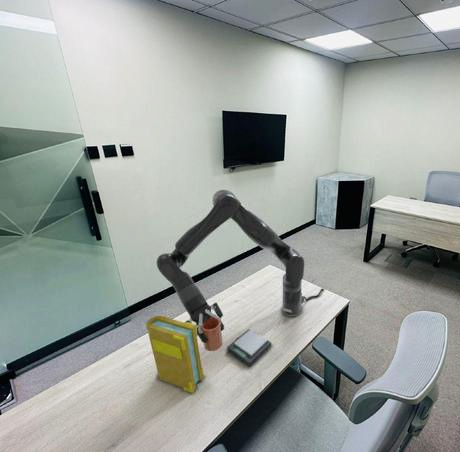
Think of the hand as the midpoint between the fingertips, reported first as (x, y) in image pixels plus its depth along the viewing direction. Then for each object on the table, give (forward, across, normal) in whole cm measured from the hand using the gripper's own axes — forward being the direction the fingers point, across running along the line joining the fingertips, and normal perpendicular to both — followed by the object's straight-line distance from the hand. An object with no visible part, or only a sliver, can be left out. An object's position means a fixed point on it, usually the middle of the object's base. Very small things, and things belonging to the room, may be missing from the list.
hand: (214, 335), depth 99 cm
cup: (+2, 0, +5) cm, 5 cm away
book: (+5, -13, +16) cm, 21 cm away
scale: (+13, +13, +8) cm, 20 cm away
